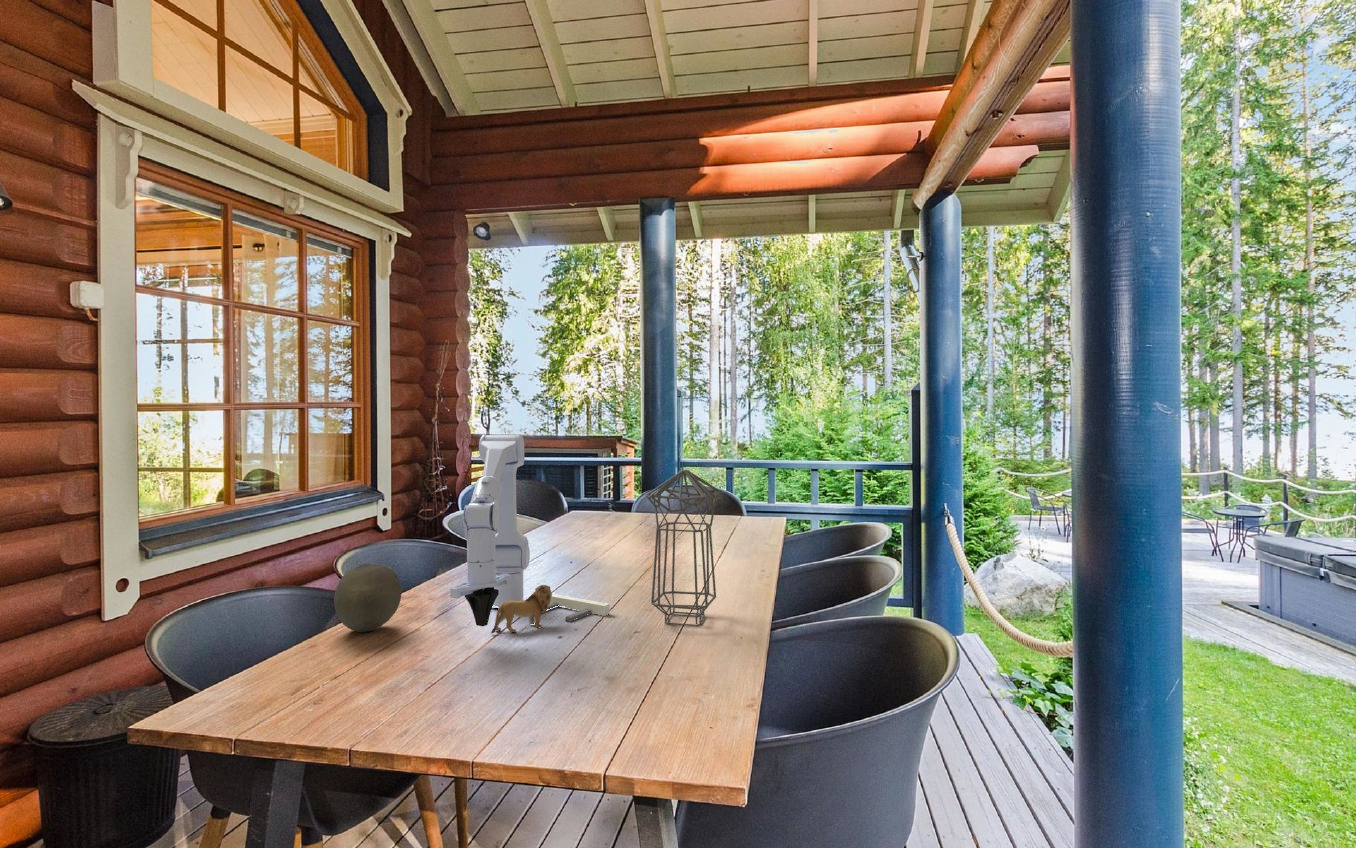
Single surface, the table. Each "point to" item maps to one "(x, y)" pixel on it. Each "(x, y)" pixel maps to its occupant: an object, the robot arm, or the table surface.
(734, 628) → the table surface
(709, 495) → the geometric lantern
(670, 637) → the table surface
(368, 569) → the cantaloupe
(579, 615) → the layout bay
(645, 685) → the table surface
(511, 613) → the lion figurine
